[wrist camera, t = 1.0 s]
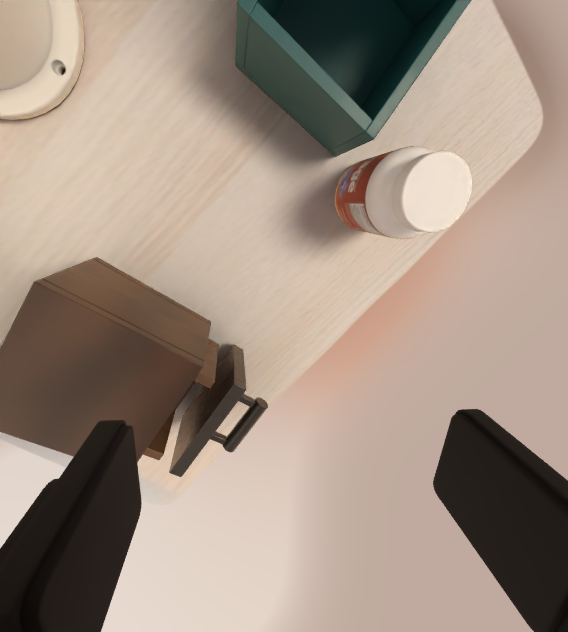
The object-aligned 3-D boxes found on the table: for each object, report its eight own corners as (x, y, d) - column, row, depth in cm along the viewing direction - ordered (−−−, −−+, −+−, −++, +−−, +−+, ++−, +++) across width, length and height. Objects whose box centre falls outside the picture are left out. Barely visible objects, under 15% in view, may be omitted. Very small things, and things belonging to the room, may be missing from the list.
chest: (335, 157, 27) (373, 139, 20) (235, 65, 23) (236, 3, 16) (421, 31, 25) (500, -41, 17) (324, -91, 21) (373, -246, 14)
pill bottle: (374, 145, 27) (462, 109, 17) (404, 203, 29) (498, 203, 19) (320, 189, 28) (372, 181, 17) (353, 243, 30) (417, 263, 20)
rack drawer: (275, 367, 32) (286, 409, 25) (223, 435, 34) (221, 491, 28) (147, 296, 27) (120, 326, 21) (96, 380, 29) (55, 433, 23)
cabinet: (211, 321, 30) (203, 366, 22) (155, 405, 32) (128, 475, 24) (96, 256, 26) (33, 281, 18) (41, 356, 29) (-38, 420, 20)
